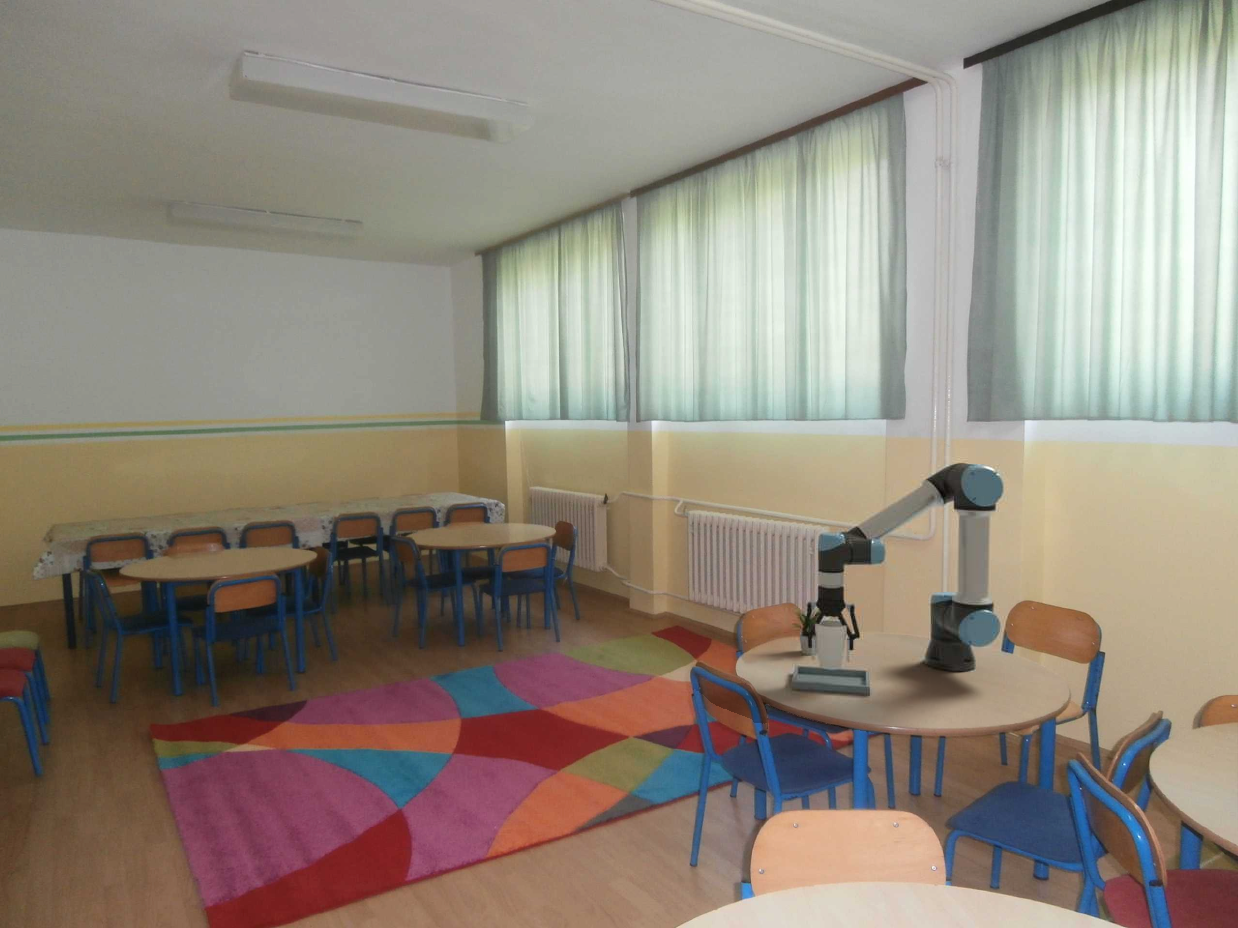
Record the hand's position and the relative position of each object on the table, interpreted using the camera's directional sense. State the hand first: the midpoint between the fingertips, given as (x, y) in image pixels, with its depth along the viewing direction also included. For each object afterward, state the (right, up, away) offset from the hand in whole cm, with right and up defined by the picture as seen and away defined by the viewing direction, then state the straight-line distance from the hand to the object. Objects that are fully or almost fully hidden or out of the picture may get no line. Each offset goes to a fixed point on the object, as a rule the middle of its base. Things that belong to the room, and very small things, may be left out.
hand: (830, 659), depth 249 cm
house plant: (0, -6, +33) cm, 33 cm away
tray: (0, -7, 0) cm, 7 cm away
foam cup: (0, -2, 0) cm, 2 cm away
